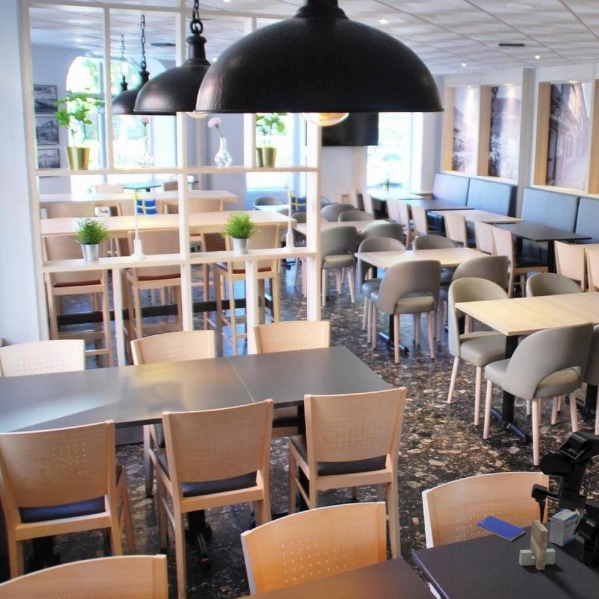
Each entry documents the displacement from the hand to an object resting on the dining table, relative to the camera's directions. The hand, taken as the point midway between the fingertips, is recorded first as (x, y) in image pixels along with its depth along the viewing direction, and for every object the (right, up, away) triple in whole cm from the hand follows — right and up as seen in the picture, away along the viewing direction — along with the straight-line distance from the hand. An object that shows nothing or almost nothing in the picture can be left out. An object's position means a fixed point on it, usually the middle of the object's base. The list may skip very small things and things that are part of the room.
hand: (557, 528), depth 224 cm
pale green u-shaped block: (-4, -12, +6) cm, 14 cm away
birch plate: (-4, -12, +6) cm, 14 cm away
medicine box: (+8, -9, +19) cm, 23 cm away
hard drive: (-10, -8, +25) cm, 28 cm away
